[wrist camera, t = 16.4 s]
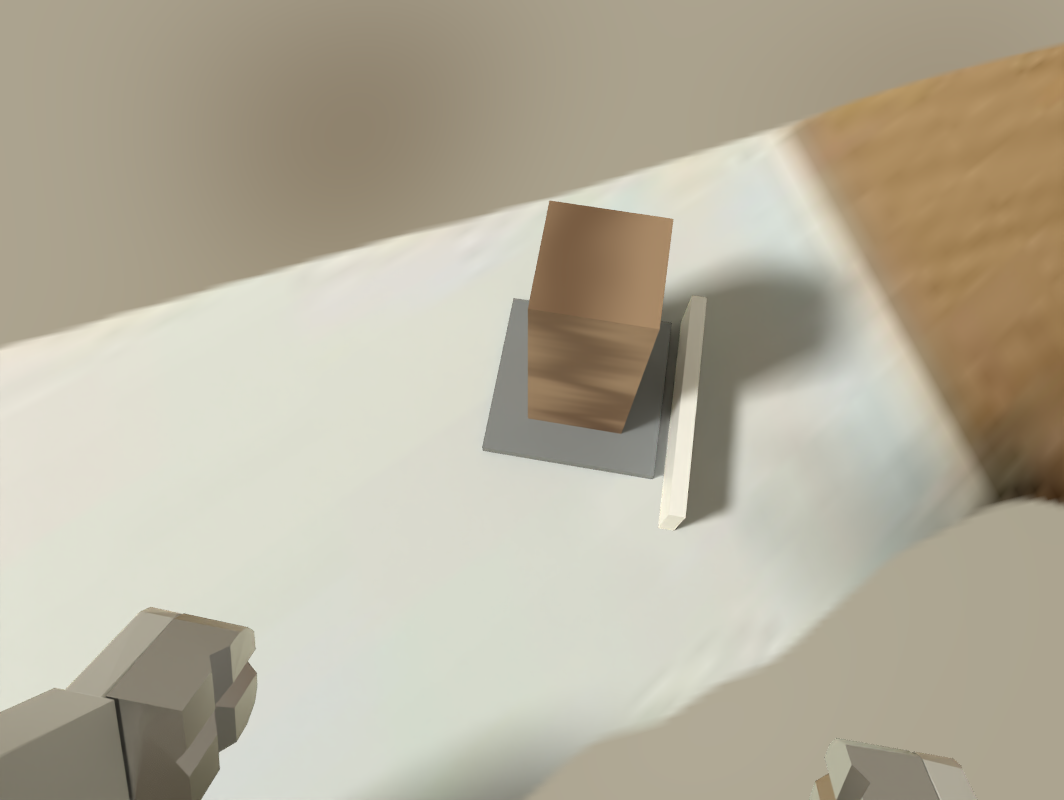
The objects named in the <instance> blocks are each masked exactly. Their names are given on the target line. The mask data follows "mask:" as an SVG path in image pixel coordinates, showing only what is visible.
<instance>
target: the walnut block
mask: <svg viewBox="0 0 1064 800" xmlns="http://www.w3.org/2000/svg"><path fill="white" fill-rule="evenodd" d="M672 225H673V219H670V218H663V217H656V216H650V215H643V214H636V213H629V212H623V211H616V210H609V209H602V208H596V207H589V206H582V205H576V204H569V203H562V202H555V201H549V206H548V211H547V216H546V221H545V226H544V231H543V236H542V241H541V246H540V251H539V256H538V261H537V266H536V271H535V276H534V281H533V286H532V291H531V295H530V300H529V305H528V418H529V419H535V420H541V421H547V422H553V423H559V424H565V425H571V426H577V427H583V428H589V429H595V430H601V431H607V432H613V433H619V434H621V433H622V431H623V428H624V425H625V422H626V420H627V417H628V414H629V412H630V409H631V406H632V403H633V401H634V398H635V395H636V392H637V390H638V387H639V384H640V382H641V379H642V376H643V373H644V371H645V368H646V365H647V362H648V360H649V357H650V354H651V351H652V349H653V346H654V343H655V341H656V338H657V335H658V332H659V330H660V322H661V314H662V306H663V298H664V290H665V282H666V274H667V266H668V258H669V250H670V242H671V233H672Z"/></svg>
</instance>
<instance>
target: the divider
mask: <svg viewBox="0 0 1064 800" xmlns="http://www.w3.org/2000/svg"><path fill="white" fill-rule="evenodd" d="M706 304H707V298H706V297H700V296H693V295H692V297H691V299H690V301H689V304H688V306H687V309H686V311H685V313H684V316H683V318H682V321H681V327H680V335H679V344H678V353H677V362H676V371H675V380H674V389H673V398H672V407H671V416H670V425H669V434H668V443H667V452H666V461H665V470H664V479H663V488H662V497H661V506H660V515H659V524H658V528H661V529H667V530H673V531H674V530H675V529H676V528H677V526H678V525H679V524H680V523H681V522H682V521H683V520H684V519H685V518H686V508H687V498H688V488H689V477H690V467H691V457H692V447H693V436H694V426H695V416H696V406H697V396H698V385H699V375H700V365H701V355H702V345H703V334H704V324H705V314H706Z"/></svg>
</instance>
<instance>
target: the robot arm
mask: <svg viewBox="0 0 1064 800" xmlns="http://www.w3.org/2000/svg"><path fill="white" fill-rule="evenodd" d="M255 649H256V648H255V637H254V631H253V630H252V629H250V628H248V627H244V626H240V625H235V624H230V623H226V622H221V621H217V620H212V619H207V618H203V617H198V616H194V615H189V614H181V613H176V612H171V611H167V610H162V609H158V608H153V607H150V608H147V609H145V610H143V611H141V612H139V613H138V614H137V615H136V616H135V617H134V618H133V619H132V620H131V621H130V622H129V623H128V624H127V626H126V627H125V628H124V629H123V630H122V631H121V632H120V633H119V634H118V635H117V636H116V637H115V638H114V639H113V640H112V641H111V642H110V643H109V644H108V645H107V646H106V647H105V648H104V650H103V651H102V652H101V653H100V654H99V655H98V656H97V657H96V658H95V659H94V660H93V661H92V662H91V663H90V664H89V665H88V666H87V667H86V668H85V669H84V670H83V671H82V673H81V674H80V675H79V676H78V677H77V678H76V679H75V680H74V681H73V682H72V683H71V684H70V685H69V686H68V687H67V688H66V689H65V690H64V689H58V688H53V689H51V690H49V691H47V692H44V693H42V694H40V695H38V696H35V697H33V698H31V699H29V700H27V701H24V702H22V703H20V704H18V705H15V706H13V707H11V708H9V709H6V710H4V711H2V712H0V800H201V799H202V797H203V796H204V794H205V792H206V791H207V789H208V787H209V786H210V784H211V783H212V781H213V779H214V778H215V776H216V775H217V773H218V771H219V770H220V766H219V752H220V751H222V750H224V749H225V748H227V747H229V746H230V745H232V744H234V743H235V742H237V740H238V738H239V737H240V735H241V733H242V732H243V730H244V728H245V727H246V725H247V723H248V720H249V717H250V714H251V712H252V709H253V706H254V703H255V698H256V691H257V673H256V671H255V670H254V669H253V668H252V666H251V665H250V664H249V662H248V660H249V658H250V657H251V655H252V654H253V652H254V651H255ZM825 762H826V765H827V769H828V772H829V773H828V774H827V775H825V776H823V777H821V778H820V779H818V780H816V781H815V783H814V786H813V790H812V792H811V795H810V798H809V800H978V799H977V797H976V795H975V793H974V791H973V789H972V787H971V785H970V783H969V781H968V779H967V777H966V775H965V773H964V771H963V769H962V767H961V765H960V764H958V763H957V762H956V761H955V760H954V759H953V758H947V757H941V756H935V755H930V754H924V753H918V752H910V751H907V750H901V749H896V748H890V747H884V746H879V745H874V744H868V743H862V742H857V741H851V740H846V739H840V738H836V739H835V740H834V741H833V742H832V743H831V744H830V745H829V748H828V750H827V753H826V756H825Z"/></svg>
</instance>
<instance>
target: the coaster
mask: <svg viewBox="0 0 1064 800" xmlns="http://www.w3.org/2000/svg"><path fill="white" fill-rule="evenodd" d="M528 305H529V301H528V300H522V299H516V298H514V299H513V303H512V308H511V313H510V318H509V323H508V327H507V332H506V337H505V342H504V346H503V351H502V356H501V361H500V365H499V370H498V375H497V380H496V384H495V389H494V394H493V399H492V404H491V408H490V413H489V418H488V423H487V427H486V432H485V437H484V442H483V446H482V448H483V451H489V452H495V453H500V454H506V455H512V456H518V457H524V458H530V459H536V460H542V461H548V462H554V463H560V464H565V465H571V466H577V467H583V468H589V469H595V470H601V471H607V472H613V473H619V474H625V475H630V476H636V477H642V478H648V479H652V478H653V476H654V469H655V461H656V452H657V443H658V435H659V426H660V418H661V409H662V401H663V392H664V383H665V375H666V366H667V358H668V349H669V341H670V332H671V324H672V323H669V322H663V321H661V322H660V330H659V332H658V335H657V338H656V341H655V343H654V346H653V349H652V351H651V354H650V357H649V360H648V362H647V365H646V368H645V371H644V373H643V376H642V379H641V382H640V384H639V387H638V390H637V392H636V395H635V398H634V401H633V403H632V406H631V409H630V412H629V414H628V417H627V420H626V422H625V425H624V428H623V431H622V433H621V434H619V433H613V432H607V431H601V430H595V429H589V428H583V427H577V426H571V425H565V424H559V423H553V422H547V421H541V420H535V419H529V418H528Z"/></svg>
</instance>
